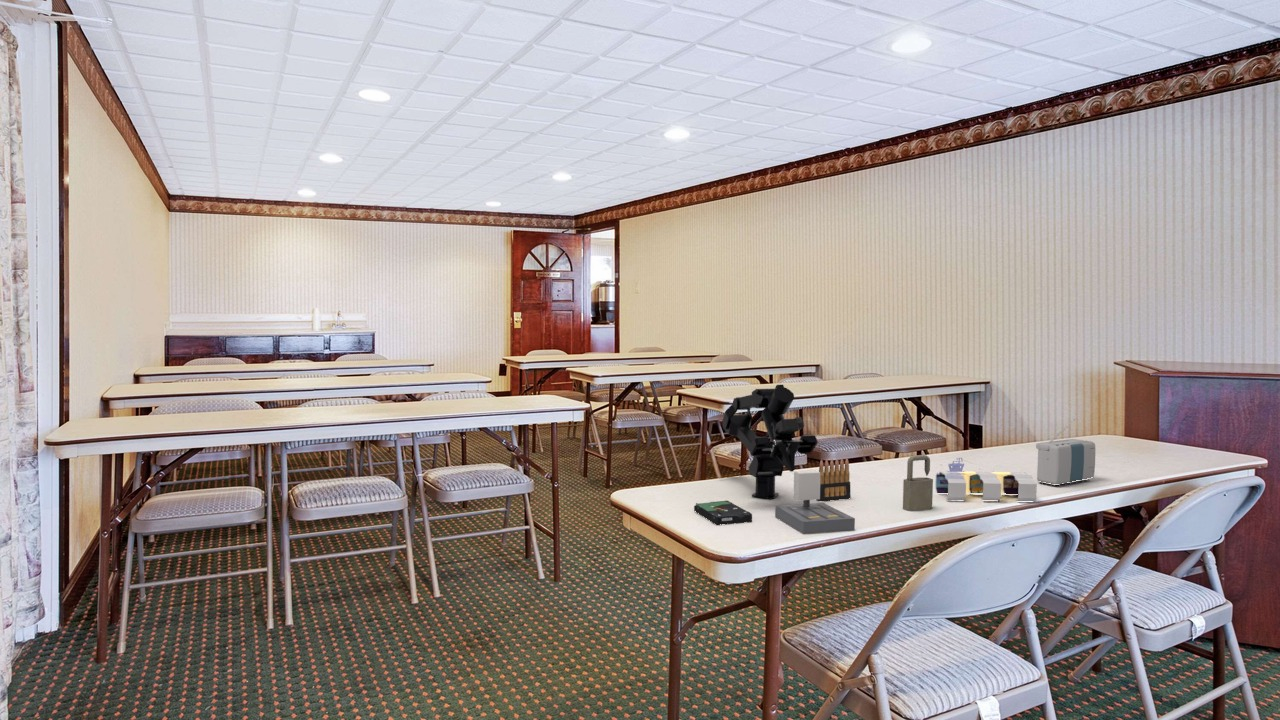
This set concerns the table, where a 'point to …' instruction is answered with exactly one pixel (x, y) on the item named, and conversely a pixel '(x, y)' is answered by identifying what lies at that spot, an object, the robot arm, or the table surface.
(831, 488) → the ammunition clip
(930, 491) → the padlock
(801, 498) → the fader knob
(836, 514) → the panel
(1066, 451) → the stereo radio cassette player
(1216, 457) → the table surface
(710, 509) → the disk drive
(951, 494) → the diorama
